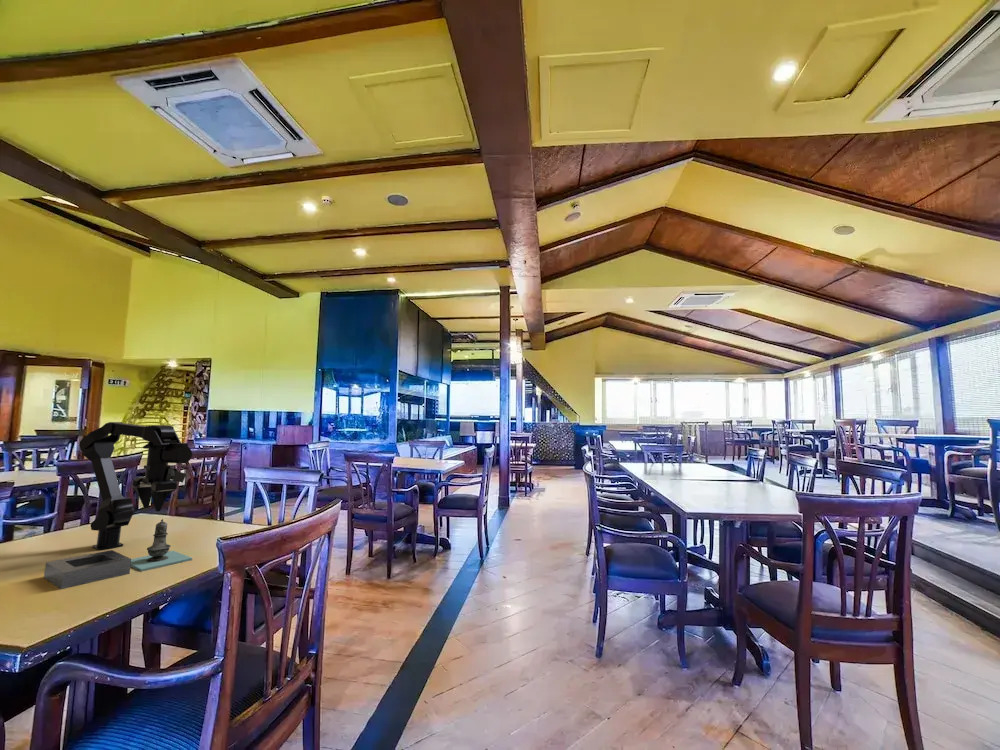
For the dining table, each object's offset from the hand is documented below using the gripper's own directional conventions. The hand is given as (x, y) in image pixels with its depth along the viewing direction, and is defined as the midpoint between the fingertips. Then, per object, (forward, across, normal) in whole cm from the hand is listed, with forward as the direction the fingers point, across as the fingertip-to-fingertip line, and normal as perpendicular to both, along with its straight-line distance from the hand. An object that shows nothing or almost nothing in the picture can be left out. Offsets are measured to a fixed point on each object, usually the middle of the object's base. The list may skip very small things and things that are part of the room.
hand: (152, 509), depth 144 cm
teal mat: (+13, -16, +3) cm, 21 cm away
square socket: (+13, -15, +19) cm, 28 cm away
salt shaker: (+13, -16, +3) cm, 21 cm away
